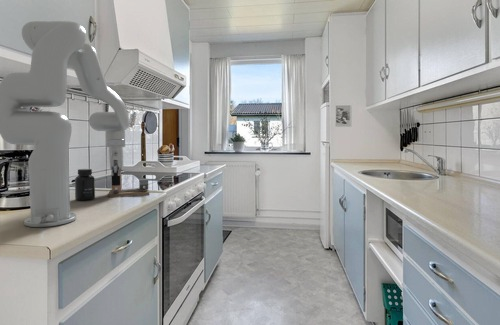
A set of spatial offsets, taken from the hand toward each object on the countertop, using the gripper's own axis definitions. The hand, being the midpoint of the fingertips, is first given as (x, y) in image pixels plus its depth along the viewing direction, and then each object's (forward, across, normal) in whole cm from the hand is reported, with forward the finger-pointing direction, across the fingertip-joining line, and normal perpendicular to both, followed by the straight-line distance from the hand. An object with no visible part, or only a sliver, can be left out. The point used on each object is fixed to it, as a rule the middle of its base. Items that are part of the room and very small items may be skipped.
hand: (116, 183), depth 127 cm
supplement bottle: (+5, -7, +11) cm, 14 cm away
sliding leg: (+3, -1, 0) cm, 3 cm away
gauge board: (+5, 0, -5) cm, 7 cm away
